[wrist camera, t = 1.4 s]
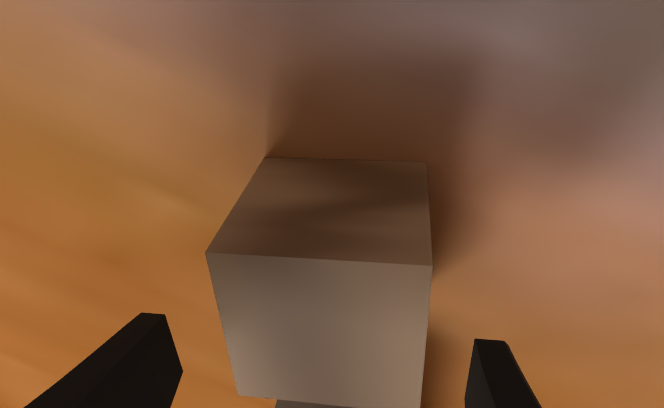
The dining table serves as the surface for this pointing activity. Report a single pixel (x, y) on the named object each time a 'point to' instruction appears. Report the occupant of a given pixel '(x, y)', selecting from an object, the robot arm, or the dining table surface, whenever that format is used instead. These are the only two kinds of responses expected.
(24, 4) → the dining table surface
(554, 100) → the dining table surface
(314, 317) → the walnut block
